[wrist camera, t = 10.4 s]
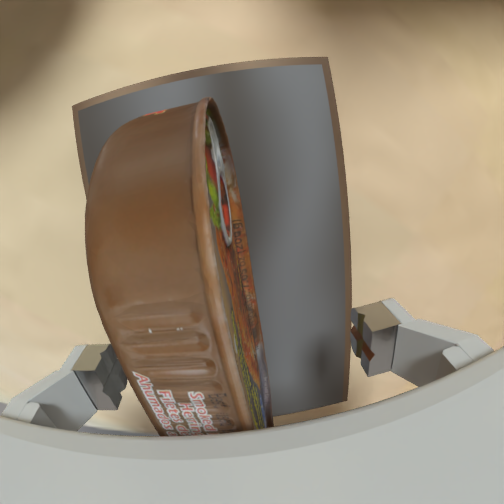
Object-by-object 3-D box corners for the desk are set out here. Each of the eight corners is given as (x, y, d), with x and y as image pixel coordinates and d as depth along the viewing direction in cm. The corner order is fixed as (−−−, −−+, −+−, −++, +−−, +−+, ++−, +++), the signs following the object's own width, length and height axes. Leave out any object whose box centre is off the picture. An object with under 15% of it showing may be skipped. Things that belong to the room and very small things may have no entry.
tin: (272, 396, 16) (295, 522, 8) (220, 403, 16) (220, 529, 8) (228, 116, 11) (223, 42, 3) (154, 130, 11) (33, 102, 3)
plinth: (308, 75, 14) (330, 54, 11) (332, 368, 21) (349, 404, 17) (101, 113, 14) (68, 104, 10) (177, 392, 21) (170, 430, 17)
